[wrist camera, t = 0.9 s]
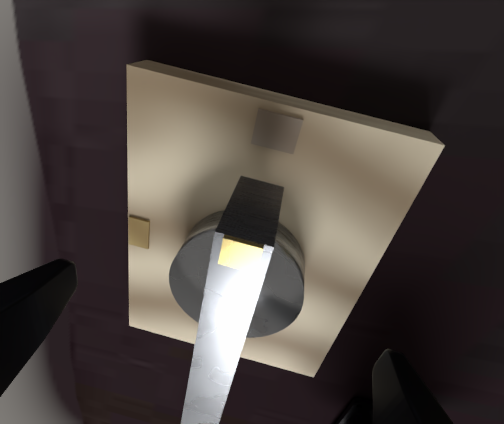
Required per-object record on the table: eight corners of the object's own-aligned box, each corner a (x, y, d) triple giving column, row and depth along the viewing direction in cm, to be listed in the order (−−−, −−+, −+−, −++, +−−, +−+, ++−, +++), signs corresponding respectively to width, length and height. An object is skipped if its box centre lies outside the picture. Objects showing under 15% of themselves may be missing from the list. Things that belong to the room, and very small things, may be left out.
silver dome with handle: (274, 345, 22) (261, 459, 16) (176, 318, 22) (129, 420, 16) (342, 178, 15) (361, 275, 9) (197, 140, 15) (127, 212, 9)
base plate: (313, 352, 25) (313, 379, 23) (141, 305, 25) (128, 327, 23) (429, 131, 15) (446, 146, 13) (146, 59, 15) (124, 64, 14)
